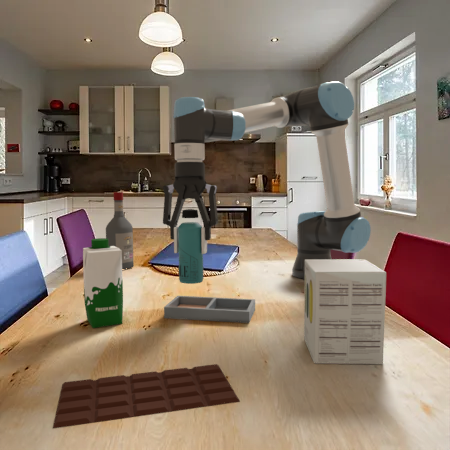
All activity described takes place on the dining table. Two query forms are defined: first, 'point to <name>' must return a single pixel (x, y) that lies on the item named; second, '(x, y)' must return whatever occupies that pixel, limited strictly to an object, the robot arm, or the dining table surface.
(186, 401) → the chocolate bar
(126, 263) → the liquor
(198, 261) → the beverage bottle
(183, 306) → the tray
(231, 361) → the dining table surface
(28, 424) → the dining table surface
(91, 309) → the milk carton
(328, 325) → the supplement box
